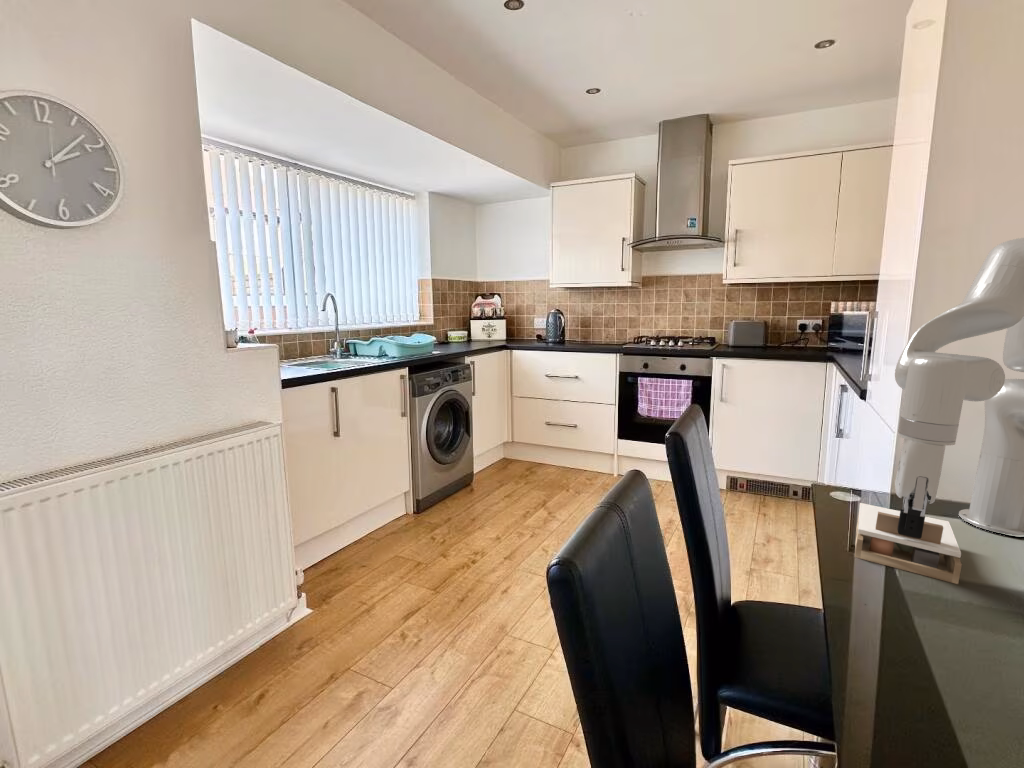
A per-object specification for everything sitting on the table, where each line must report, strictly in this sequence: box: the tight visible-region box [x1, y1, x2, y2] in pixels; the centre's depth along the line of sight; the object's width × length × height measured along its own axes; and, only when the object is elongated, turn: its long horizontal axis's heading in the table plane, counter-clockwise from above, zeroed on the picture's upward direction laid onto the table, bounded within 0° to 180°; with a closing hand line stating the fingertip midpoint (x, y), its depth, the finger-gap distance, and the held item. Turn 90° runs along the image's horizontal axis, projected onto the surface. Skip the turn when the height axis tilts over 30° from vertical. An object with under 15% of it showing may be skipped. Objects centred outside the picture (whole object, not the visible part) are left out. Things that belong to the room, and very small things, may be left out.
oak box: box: [854, 513, 963, 585], centre depth 92 cm, size 16×14×4 cm
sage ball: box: [895, 542, 913, 552], centre depth 93 cm, size 3×3×3 cm
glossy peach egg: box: [869, 537, 895, 557], centre depth 91 cm, size 3×3×3 cm
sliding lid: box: [858, 502, 962, 559], centre depth 93 cm, size 16×14×4 cm
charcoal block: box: [911, 547, 939, 568], centre depth 87 cm, size 3×3×3 cm
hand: (908, 534), depth 87 cm, fingers closed
